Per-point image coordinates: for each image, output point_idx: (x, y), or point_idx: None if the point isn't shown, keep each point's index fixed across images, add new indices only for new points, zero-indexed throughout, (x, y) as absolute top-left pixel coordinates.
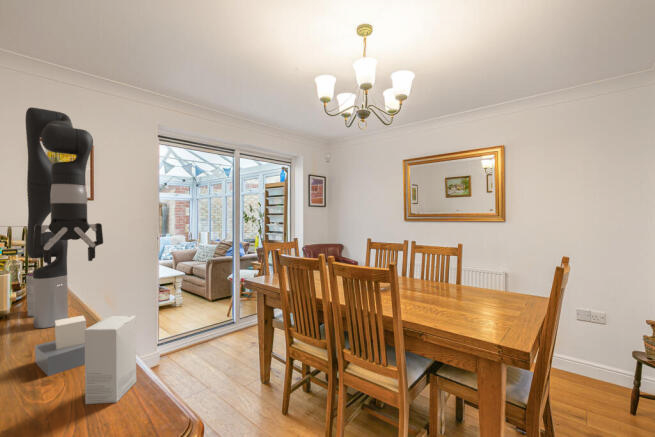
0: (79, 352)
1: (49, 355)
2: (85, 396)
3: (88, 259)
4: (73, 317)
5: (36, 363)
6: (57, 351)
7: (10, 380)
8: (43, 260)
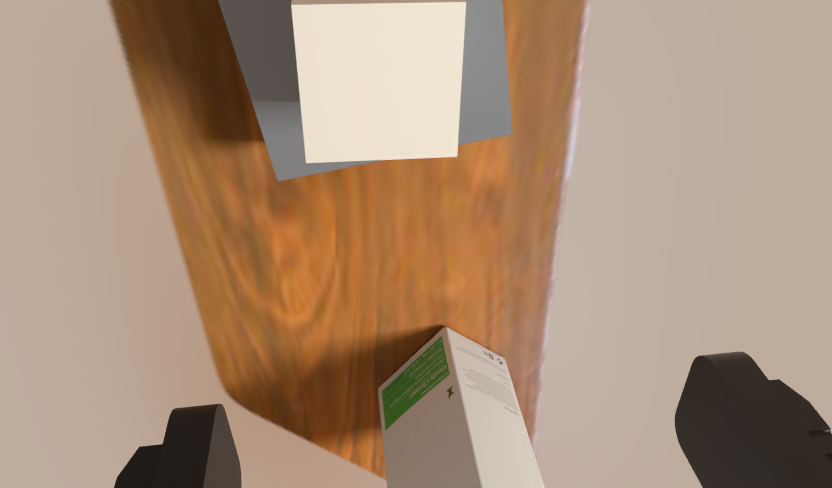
0: None
1: (282, 162)
2: (379, 405)
3: (697, 392)
4: (404, 11)
5: None
6: None
7: (147, 78)
8: (119, 482)
